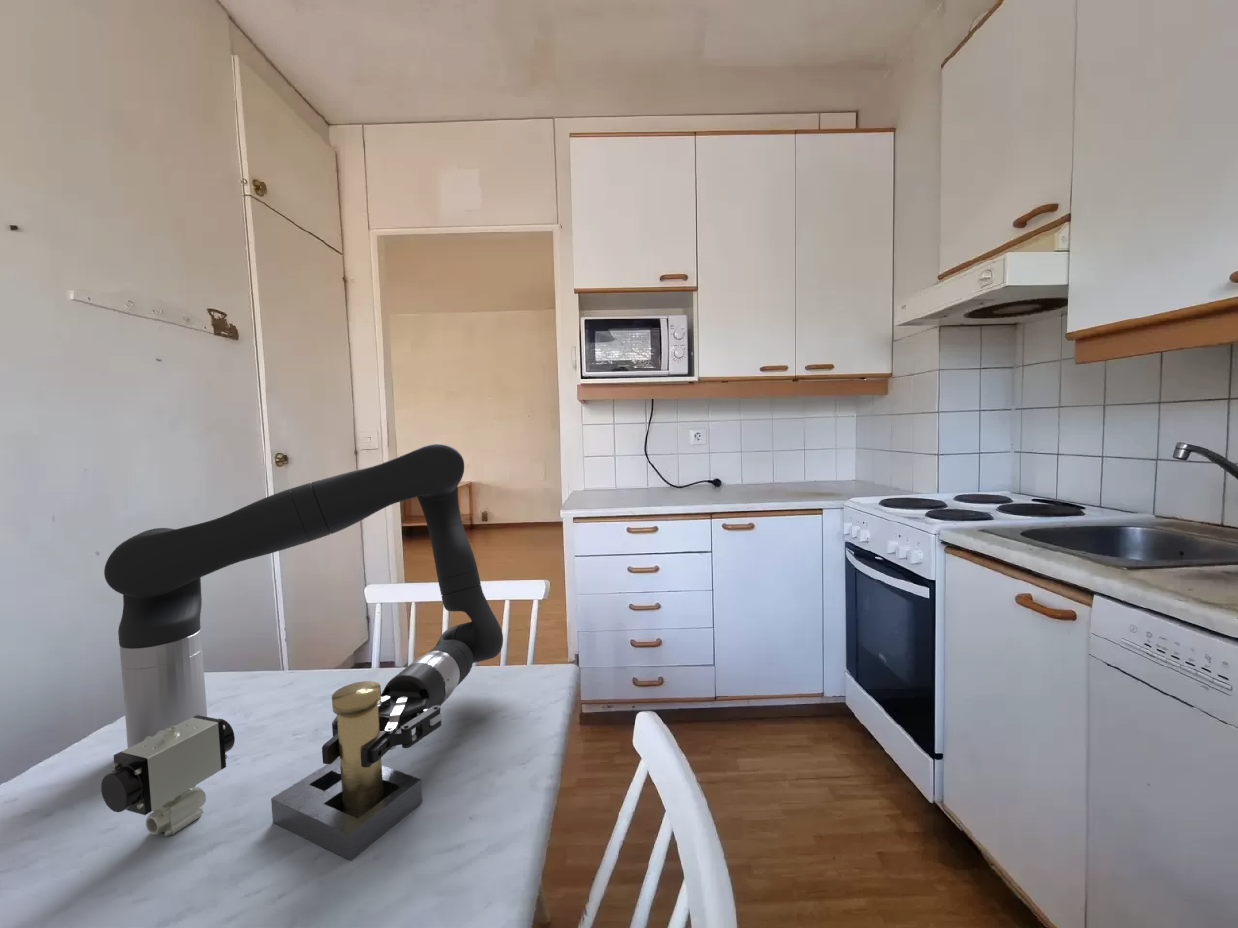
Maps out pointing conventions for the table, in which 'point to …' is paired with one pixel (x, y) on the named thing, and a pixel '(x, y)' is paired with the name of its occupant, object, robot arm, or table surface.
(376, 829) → the plate
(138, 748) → the pneumatic valve
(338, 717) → the brass headed pin
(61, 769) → the table surface
